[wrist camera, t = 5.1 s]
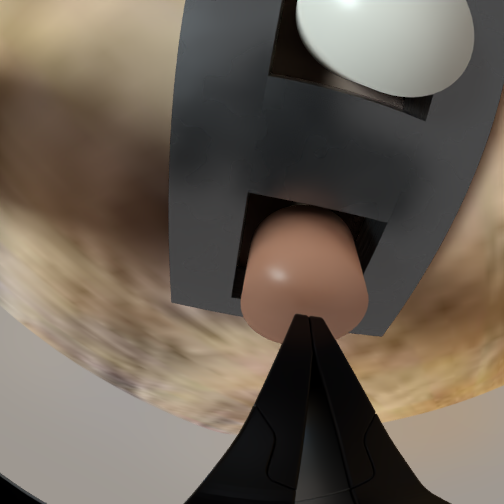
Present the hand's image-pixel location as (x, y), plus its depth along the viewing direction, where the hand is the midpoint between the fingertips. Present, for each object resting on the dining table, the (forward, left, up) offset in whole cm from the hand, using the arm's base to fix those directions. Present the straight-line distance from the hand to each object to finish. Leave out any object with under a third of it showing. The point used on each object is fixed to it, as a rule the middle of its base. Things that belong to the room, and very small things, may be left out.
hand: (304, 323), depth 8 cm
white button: (0, +9, -4) cm, 9 cm away
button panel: (0, +8, -5) cm, 10 cm away
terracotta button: (0, 0, -4) cm, 4 cm away
